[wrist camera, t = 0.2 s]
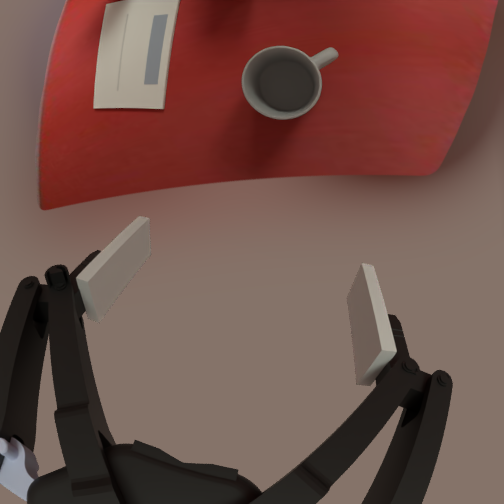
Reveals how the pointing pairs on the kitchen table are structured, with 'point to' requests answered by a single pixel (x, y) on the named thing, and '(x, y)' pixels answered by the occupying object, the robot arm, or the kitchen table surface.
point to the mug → (284, 81)
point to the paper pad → (135, 54)
